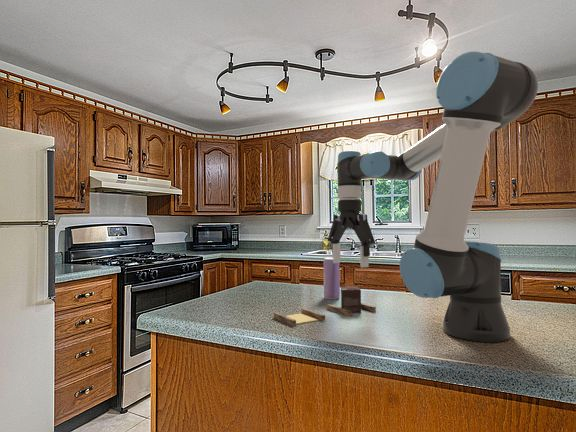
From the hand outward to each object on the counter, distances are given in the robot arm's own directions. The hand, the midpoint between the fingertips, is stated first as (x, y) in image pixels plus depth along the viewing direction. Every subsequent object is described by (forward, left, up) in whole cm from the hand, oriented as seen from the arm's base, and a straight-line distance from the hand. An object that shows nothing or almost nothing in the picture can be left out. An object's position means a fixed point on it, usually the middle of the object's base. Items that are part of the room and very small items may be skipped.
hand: (349, 265), depth 119 cm
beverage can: (+19, -7, -15) cm, 25 cm away
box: (0, 0, -15) cm, 15 cm away
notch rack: (0, +10, -15) cm, 18 cm away
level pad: (0, +20, -15) cm, 25 cm away
